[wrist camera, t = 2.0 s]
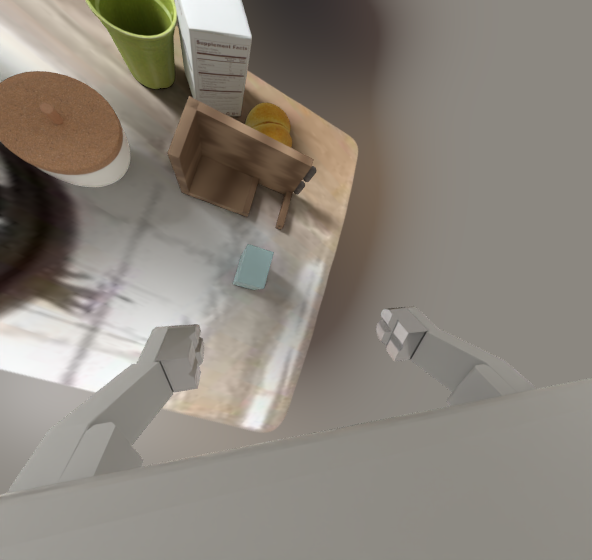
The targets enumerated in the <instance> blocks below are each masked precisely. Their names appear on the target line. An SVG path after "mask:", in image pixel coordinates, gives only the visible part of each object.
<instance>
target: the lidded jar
mask: <svg viewBox="0 0 592 560" xmlns="http://www.w3.org/2000/svg"><path fill="white" fill-rule="evenodd" d="M0 141H1V142H2V143H3V145H5V146H6V147H7V148H8V149H9V150H10V151H11V152H13V153H14V154H15V155H17V156H18V157H20V158H21V159H23V160H24V161H26V162H28V163H30V164H32V165H34V166H35V167H37V168H38V169H40V170H41V171H43V172H45V173H47V174H49V175H51V176H53V177H55V178H57V179H59V180H62V181H65V182H67V183H70V184H74V185H78V186H84V187H103V186H107V185H110V184H112V183H115V182H116V181H118V180H119V179H121V178H122V177H123V176H124V174H125V173H126V172H127V170H128V168H129V164H130V157H131V154H130V147H129V143H128V140H127V137H126V135H125V132H124V130H123V128H122V126H121V124H120V121H119V119H118V117H117V115H116V114H115V112H114V110H113V109H112V107H111V106H110V104H109V103H108V102H107V101H106V100H105V99H104V98H103V97H102V96H101V95H100V94H99V93H98V92H96V91H95V90H94V89H92V88H91V87H89V86H88V85H86V84H84V83H82V82H80V81H78V80H76V79H73V78H71V77H68V76H65V75H61V74H57V73H52V72H40V71H35V72H25V73H21V74H17V75H14V76H12V77H9V78H7V79H6V80H4V81H3V82H1V83H0Z"/></svg>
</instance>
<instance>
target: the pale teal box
mask: <svg viewBox="0 0 592 560" xmlns="http://www.w3.org/2000/svg"><path fill="white" fill-rule="evenodd" d="M273 253H274V252H271V251H268V250H265V249H262V248H259V247H256V246H253V245H250V244H248V245H247V247H246V248H245V250H244V252H243V253H242V255H241V258H240V261H239V265H238V268H237V271H236V275H235V278H234V282H233V285H237V286H241V287H244V288H248V289H252V290H257V289H264V288H265V285H266V279H267V275H268V272H269V268H270V264H271V261H272V257H273Z"/></svg>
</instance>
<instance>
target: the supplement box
mask: <svg viewBox="0 0 592 560" xmlns="http://www.w3.org/2000/svg"><path fill="white" fill-rule="evenodd" d="M175 5H176V11H177V19H178V27H179V35H180V42H181V49H182V57H183V64H184V70H185V74H186V77H187V80H188V83H189V86H190V89H191V93H192V96H193V98H194V99H196V100H198V101H200V102H202V103H204V104H206V105H208V106H210V107H212V108H214V109H216V110H218V111H220V112H222V113H223V114H225V115H227V116H241V110H242V103H243V96H244V89H245V82H246V76H247V69H248V62H249V56H250V48H251V41H252V36H251V32H250V29H249V25H248V22H247V18H246V15H245V11H244V7H243V4H242V1H241V0H175Z"/></svg>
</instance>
